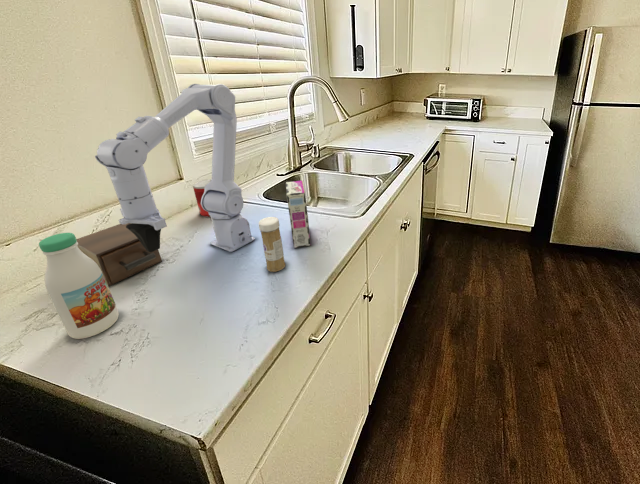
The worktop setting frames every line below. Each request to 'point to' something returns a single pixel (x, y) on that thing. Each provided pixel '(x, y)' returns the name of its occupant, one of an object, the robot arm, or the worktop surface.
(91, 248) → the cabinet
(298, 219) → the candy bar box
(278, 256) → the sprinkles bottle
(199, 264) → the worktop surface
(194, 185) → the red coffee cup
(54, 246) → the milk bottle
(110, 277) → the drawer
